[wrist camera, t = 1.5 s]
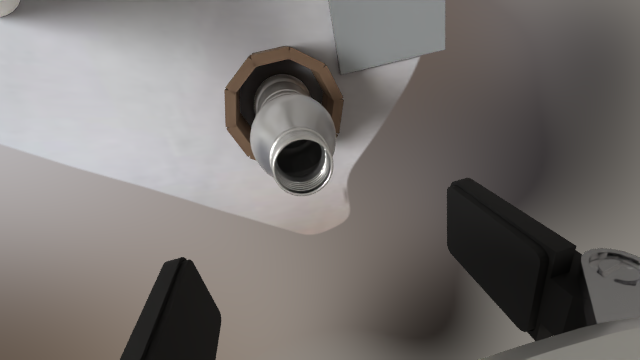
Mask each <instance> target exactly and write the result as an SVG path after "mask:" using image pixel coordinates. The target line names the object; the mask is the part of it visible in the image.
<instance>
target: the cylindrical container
mask: <svg viewBox="0 0 640 360" xmlns="http://www.w3.org/2000/svg"><path fill="white" fill-rule="evenodd" d="M19 2H20V0H0V17H3V16H6V15H8V14H10V13H11V12H13V11H14V10H15V9H16V7H17V6H18V5H19Z"/></svg>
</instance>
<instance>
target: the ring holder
mask: <svg viewBox="0 0 640 360" xmlns="http://www.w3.org/2000/svg"><path fill="white" fill-rule="evenodd" d="M286 59H290V60H292V61H294V62H297V63H299V64H301V65H303V66H305V67H307V68H309V69H311V71H312V73H313V75H314V77H315V78H316V80H317V82H318V84H319V86H320V88H321V89H322V91H323V96H322V106H323V107H324V108H325V109H326V110H327V112H328V113H329V114H330V116H331V118H332V120H333V122H334V126H335V130H336V133H339V130H340V123H341V116H342V109H343V101H344V100H343V99H342V98H343V96H342V94H341V92H340V90H339V88H338V86H337V84H336V82H335V80H334V78H333V77H332V75H331V73H330V71H329V69H328V67H327V65H325V63H323V62H320V61H318V60H316V59H314V58H312V57H310V56H308V55H306V54H304V53H302V52H300V51H298V50H296V49H294V48H292V47H287V46H282V47H277V48H273V49H269V50H265V51H260V52H256V53H252V55H250V56H249V57H248V58H247V59H246V61H245V62H244V63H243V65H242V66H241V67H240V69H239V70H238V71H237V73H236V74H235V75H234V77H233V78H232V79H231V81H230V82H229V83H228V85H227V86H226V87H225V88H226V89H225V120H226V127H227V130H228V132H229V133H230V134H231V136H232V137H233V138H234V139H235V141H236V142H237V143H238V145H239V146H240V147H241V149H242V150H243V151H244V152H245V154H246V155H247V156H248V157H249V156H250V158H251V159H254V160H256V159H255V157H254V155H253V152H252V149H251V144H250V133H251V126H250V125H249V124H248V122H247V121H246V119H245V118H244V117H243V115H242V114H241V113H240V87H241V86H242V84H243V83H244V82H245V80H246V79H247V78H248V76H249V75H250V74H251V73H252V71H253V70H254V69H255V67H257V66H261V65H265V64H269V63H274V62H278V61H282V60H286ZM337 136H338V135H337V134H336V137H337Z"/></svg>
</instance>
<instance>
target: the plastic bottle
mask: <svg viewBox="0 0 640 360" xmlns="http://www.w3.org/2000/svg"><path fill="white" fill-rule="evenodd" d="M254 111H255V115H256V117H255V119H254V121H253V124H252V128H251V133H250V144H251V149H252V152H253V155H254V157H255V159H256V161H257V162H258V164H259V165H260V166H261V167H262V168H263V170H264V171H265V172H266V173H267V174H269V175H270V176H272V177H273V178H274V179H275V181H276V182H277V184H278V185H279V186H280V188H281V189H283V190H284V191H285V192H287V193H289V194H292V195H296V196H307V195H311V194H314V193H316V192H318V191H319V190H321V189H322V188H323V187H324V186H325V185H326V184H327V183H328V181H329V179H330V178H331V175H332V172H333V158H332V157H333V154H334V151H335V144H336V130H335V126H334V122H333V120H332V118H331V116H330V114H329V113H328V112H327V110H326V109H325V108H324V107H323V106H322V105H321V104H320V103H319V102H317V101H316V100H314V99H312V98H311V95H310V93H309V91H308V89H307V87H306V86H305V85H304V83H302V82H301V81H300V80H299V79H297V78H296V77H294V76H291V75H287V74H278V75H274V76H271V77H269V78H267V79H266V80H265V81H264V82H262V83H261V85H260V86H259V87H258V89H257V91H256V94H255V97H254Z"/></svg>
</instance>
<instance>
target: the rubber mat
mask: <svg viewBox="0 0 640 360" xmlns="http://www.w3.org/2000/svg"><path fill="white" fill-rule="evenodd" d="M328 1H329V7H330V13H331V19H332V26H333V32H334V38H335V44H336V50H337V57H338V63H339V69H340V74H341V75H342V74H346V73H351V72H355V71H359V70H363V69H367V68H371V67H375V66H379V65H383V64H387V63H392V62H396V61H400V60H404V59H408V58H412V57H416V56H420V55H424V54H428V53H432V52H437V51H441V50H445V0H328Z"/></svg>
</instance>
